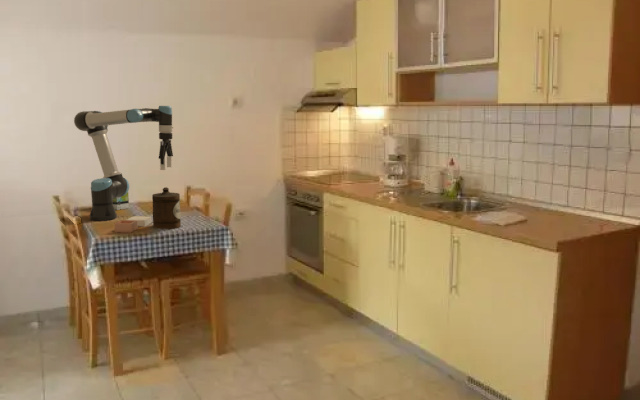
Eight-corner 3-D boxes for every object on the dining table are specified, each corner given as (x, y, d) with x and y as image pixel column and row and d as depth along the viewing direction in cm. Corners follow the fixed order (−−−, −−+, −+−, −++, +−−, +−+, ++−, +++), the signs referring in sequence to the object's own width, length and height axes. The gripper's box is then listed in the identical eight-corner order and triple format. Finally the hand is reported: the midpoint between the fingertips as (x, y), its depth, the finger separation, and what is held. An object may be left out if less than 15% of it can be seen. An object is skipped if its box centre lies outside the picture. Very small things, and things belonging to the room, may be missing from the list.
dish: (114, 232, 316) (114, 223, 315) (121, 229, 325) (121, 220, 324) (131, 233, 315) (131, 223, 314) (137, 229, 324) (137, 220, 323)
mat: (124, 227, 330) (124, 226, 330) (132, 222, 342) (132, 222, 342) (145, 227, 329) (145, 226, 329) (153, 223, 341) (153, 222, 341)
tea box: (129, 208, 389) (128, 185, 387) (117, 210, 381) (115, 187, 379) (114, 206, 397) (113, 184, 395) (101, 208, 389) (100, 185, 386)
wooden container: (182, 228, 327) (181, 188, 324) (154, 230, 322) (152, 190, 319) (178, 223, 341) (177, 185, 337) (152, 225, 336) (150, 186, 332)
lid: (126, 226, 331) (126, 219, 330) (133, 222, 341) (133, 216, 340) (144, 226, 330) (144, 220, 329) (151, 222, 340) (151, 216, 340)
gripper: (166, 133, 336) (166, 171, 340) (177, 131, 361) (177, 166, 364) (152, 133, 336) (153, 170, 340) (165, 131, 361) (165, 165, 365)
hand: (166, 168), depth 352 cm, fingers open, 13 cm apart
